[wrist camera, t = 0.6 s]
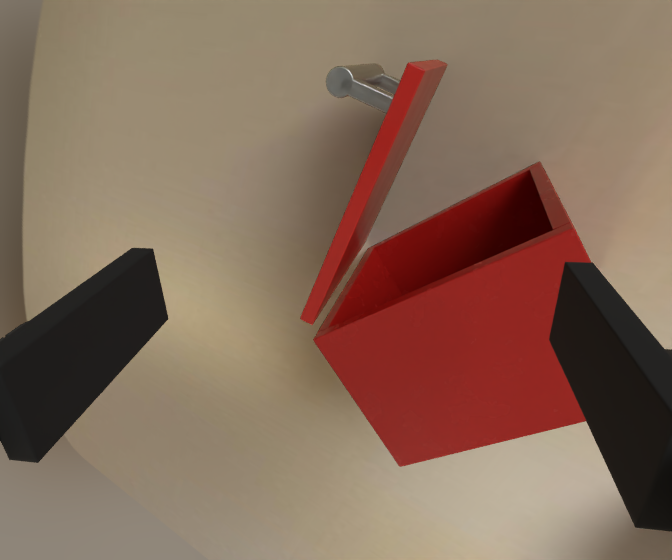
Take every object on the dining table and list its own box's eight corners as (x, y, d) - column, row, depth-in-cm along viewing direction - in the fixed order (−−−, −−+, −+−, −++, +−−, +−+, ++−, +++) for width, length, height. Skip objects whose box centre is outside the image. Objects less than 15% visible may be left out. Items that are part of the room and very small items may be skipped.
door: (314, 218, 37) (241, 289, 26) (385, 35, 30) (327, 24, 19) (364, 243, 37) (312, 325, 26) (447, 64, 30) (425, 70, 19)
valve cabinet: (367, 248, 38) (312, 339, 26) (540, 161, 31) (574, 227, 19) (425, 342, 40) (399, 467, 28) (597, 278, 34) (660, 403, 22)
